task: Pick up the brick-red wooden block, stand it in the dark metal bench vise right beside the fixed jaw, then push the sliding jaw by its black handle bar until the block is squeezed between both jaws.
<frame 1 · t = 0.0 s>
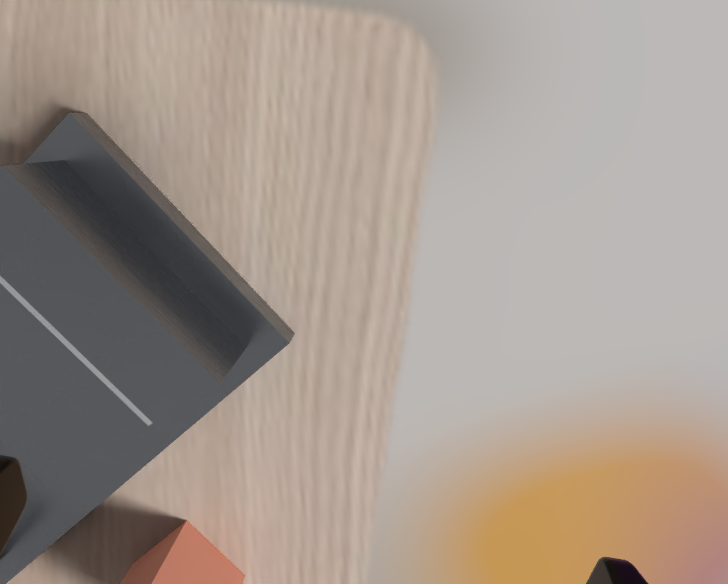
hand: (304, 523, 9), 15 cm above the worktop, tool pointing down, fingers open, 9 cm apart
vise base: (29, 386, 26), on the worktop
brick-red block: (188, 569, 28), on the worktop
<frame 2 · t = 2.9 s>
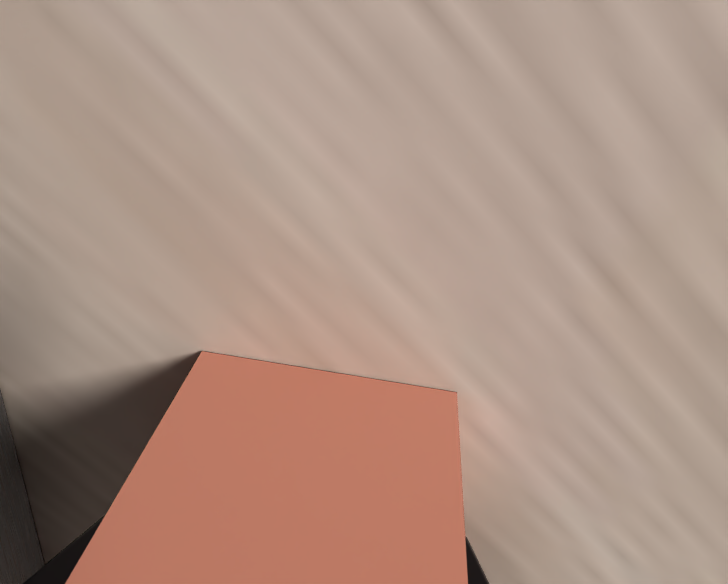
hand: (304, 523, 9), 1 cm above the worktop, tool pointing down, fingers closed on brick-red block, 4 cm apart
brick-red block: (317, 462, 10), on the worktop, touching gripper
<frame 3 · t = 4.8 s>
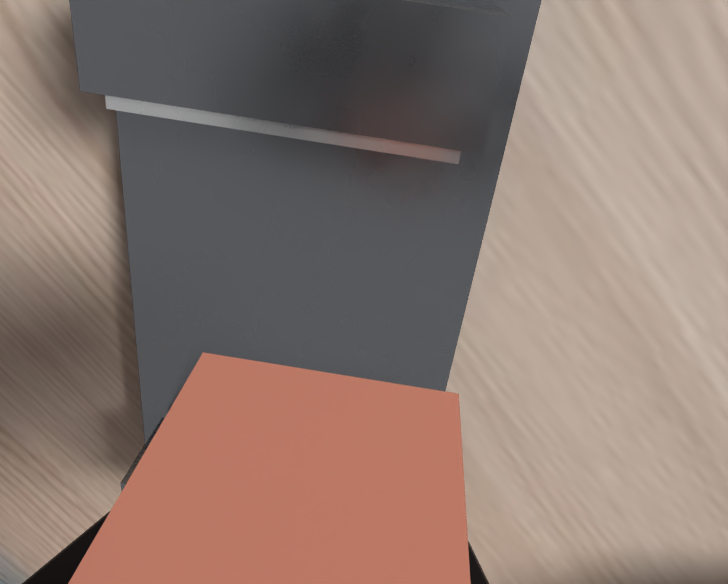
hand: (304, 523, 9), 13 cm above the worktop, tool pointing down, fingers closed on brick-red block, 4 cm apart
vise base: (301, 270, 21), on the worktop
sliding jaw: (267, 521, 23), point 3 cm above the worktop, slide at 0.0 cm
brick-red block: (319, 464, 10), point 12 cm above the worktop, touching gripper
when the fingers open (4 cm above the worktop, at t = 6.9 s): brick-red block drops 1 cm, resting on vise base.
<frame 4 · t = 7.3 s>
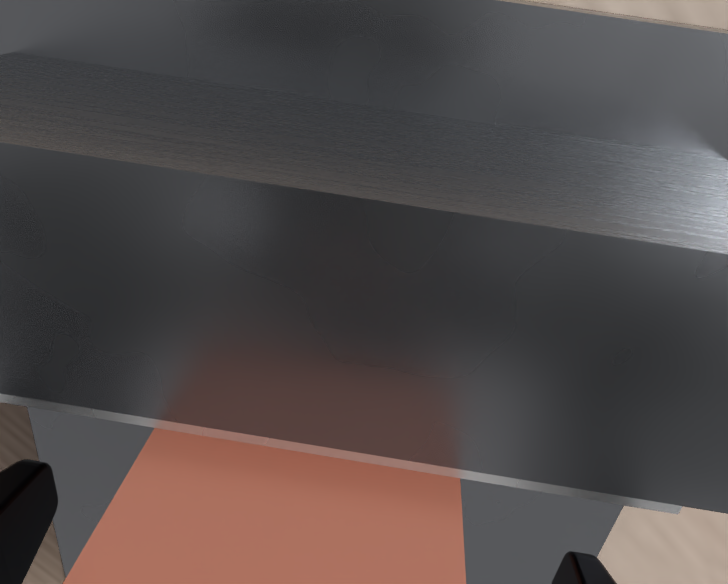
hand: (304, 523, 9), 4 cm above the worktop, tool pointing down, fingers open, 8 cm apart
vise base: (320, 497, 14), on the worktop
brick-red block: (327, 416, 11), point 1 cm above the worktop, touching vise base
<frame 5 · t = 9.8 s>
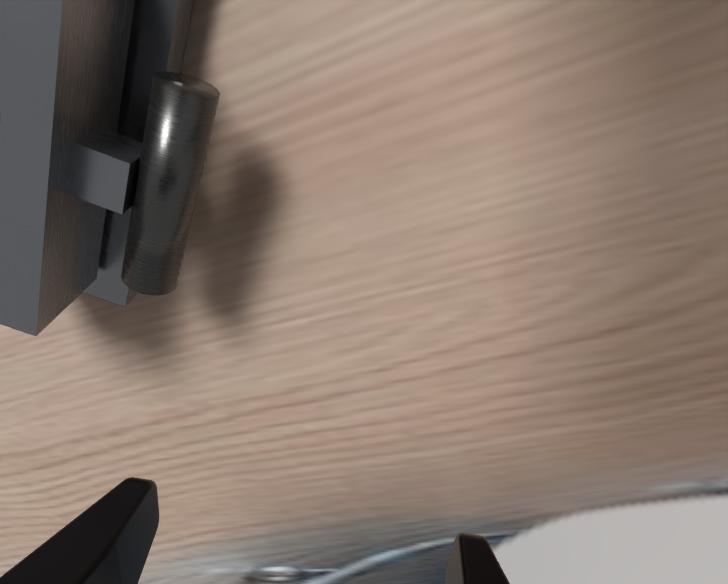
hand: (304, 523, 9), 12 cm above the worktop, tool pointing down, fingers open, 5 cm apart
sliding jaw: (79, 158, 16), point 3 cm above the worktop, slide at 0.0 cm
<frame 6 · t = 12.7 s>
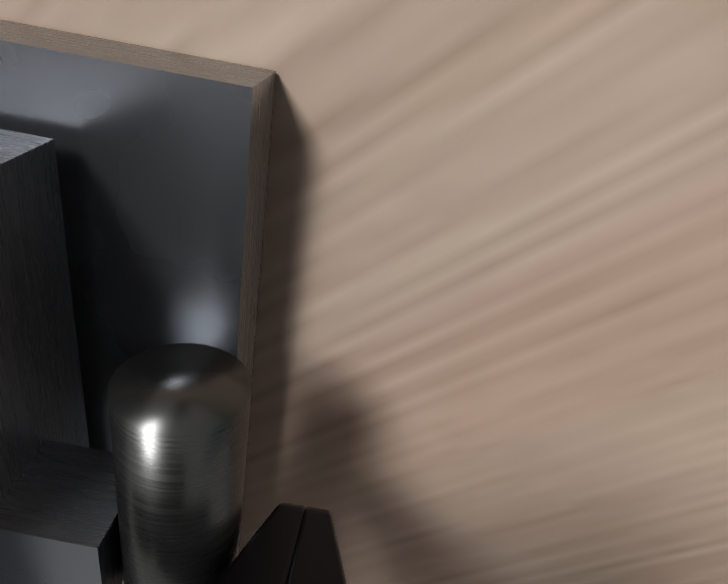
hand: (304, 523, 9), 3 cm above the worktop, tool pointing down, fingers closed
sliding jaw: (14, 513, 8), point 3 cm above the worktop, slide at 1.4 cm, touching gripper
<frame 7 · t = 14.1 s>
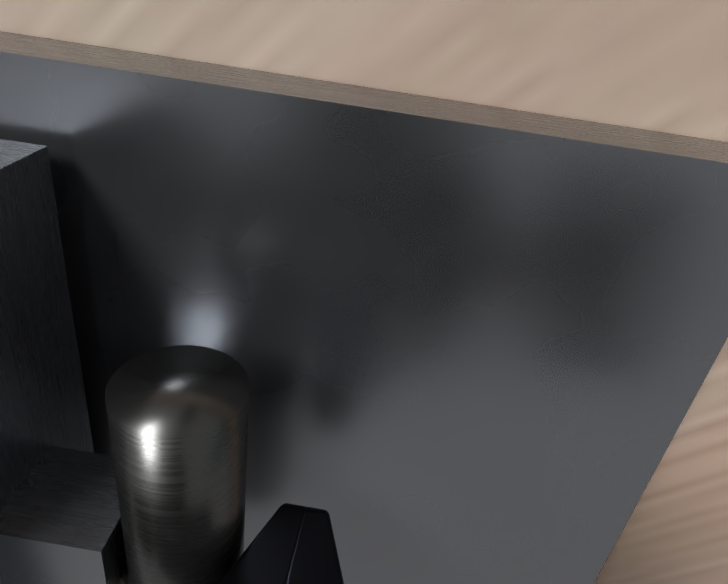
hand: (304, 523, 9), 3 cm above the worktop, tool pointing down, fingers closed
vise base: (45, 365, 11), on the worktop
sliding jaw: (19, 519, 8), point 3 cm above the worktop, slide at 8.3 cm, touching brick-red block, gripper
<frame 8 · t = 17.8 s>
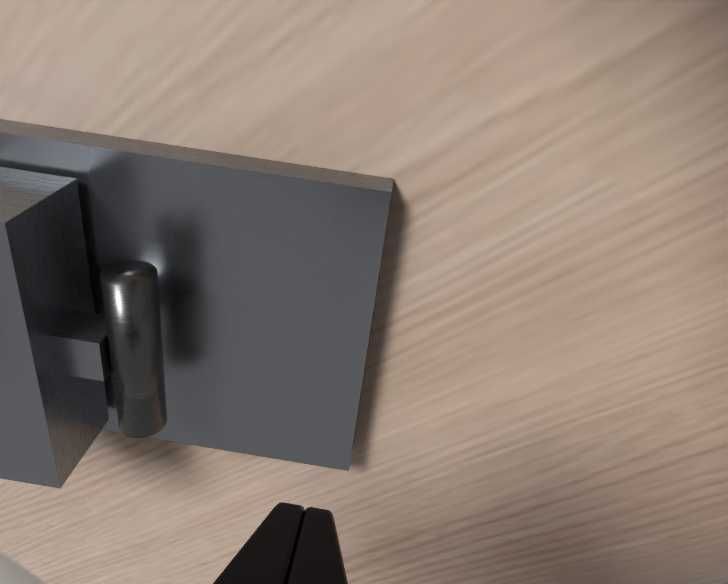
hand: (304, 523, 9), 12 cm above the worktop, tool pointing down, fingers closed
vise base: (81, 287, 22), on the worktop
sliding jaw: (63, 341, 19), point 3 cm above the worktop, slide at 8.7 cm, touching brick-red block
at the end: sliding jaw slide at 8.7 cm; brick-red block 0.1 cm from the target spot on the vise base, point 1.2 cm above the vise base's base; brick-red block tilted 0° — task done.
